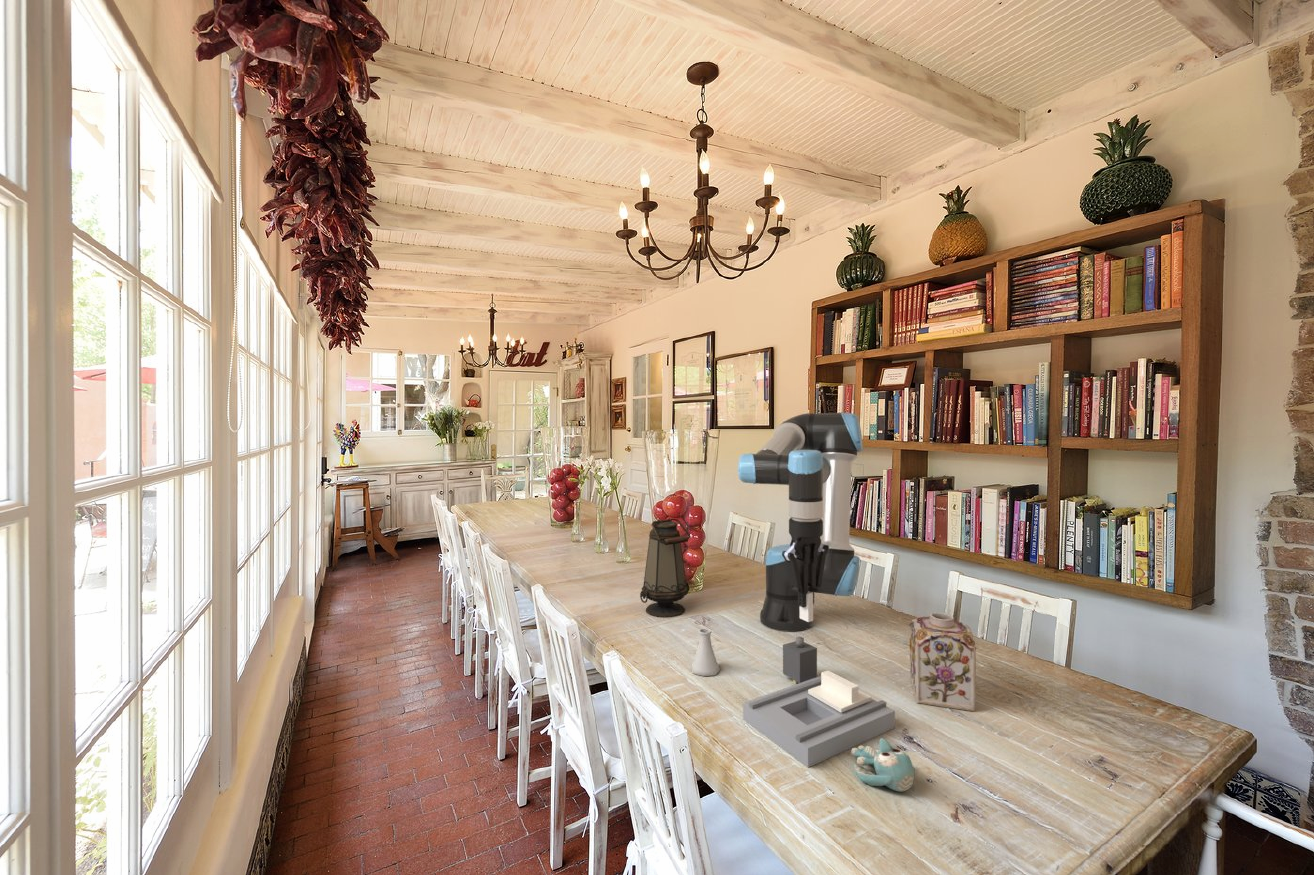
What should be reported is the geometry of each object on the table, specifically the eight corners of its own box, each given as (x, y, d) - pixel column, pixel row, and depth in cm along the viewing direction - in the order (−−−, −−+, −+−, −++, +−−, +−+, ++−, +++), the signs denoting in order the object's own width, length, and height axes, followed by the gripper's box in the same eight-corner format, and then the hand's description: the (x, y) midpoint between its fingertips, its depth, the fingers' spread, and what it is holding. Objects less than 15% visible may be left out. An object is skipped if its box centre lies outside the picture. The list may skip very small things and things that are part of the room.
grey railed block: (825, 689, 123) (825, 670, 123) (894, 727, 108) (894, 706, 108) (743, 719, 111) (743, 698, 111) (807, 767, 96) (807, 744, 95)
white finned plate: (837, 682, 119) (837, 665, 118) (871, 700, 111) (871, 682, 111) (808, 693, 114) (808, 675, 114) (841, 712, 106) (841, 693, 106)
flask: (718, 678, 129) (718, 637, 129) (688, 675, 130) (688, 635, 130) (721, 664, 136) (721, 625, 136) (692, 662, 138) (692, 624, 137)
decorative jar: (965, 686, 124) (965, 609, 123) (977, 713, 113) (977, 628, 112) (908, 679, 128) (908, 604, 127) (914, 703, 117) (914, 621, 116)
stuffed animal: (875, 719, 102) (929, 741, 91) (880, 759, 101) (935, 786, 90) (830, 732, 97) (881, 757, 86) (835, 775, 96) (887, 806, 85)
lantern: (673, 598, 187) (672, 512, 186) (701, 611, 174) (701, 518, 173) (628, 609, 176) (627, 518, 175) (655, 623, 164) (654, 525, 163)
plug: (799, 673, 131) (799, 631, 131) (816, 682, 126) (816, 639, 126) (782, 678, 128) (782, 636, 128) (799, 688, 124) (799, 644, 123)
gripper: (813, 512, 129) (813, 608, 130) (772, 519, 122) (773, 620, 124) (838, 517, 123) (838, 618, 124) (797, 524, 116) (798, 631, 117)
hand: (806, 619), depth 124 cm, fingers closed
